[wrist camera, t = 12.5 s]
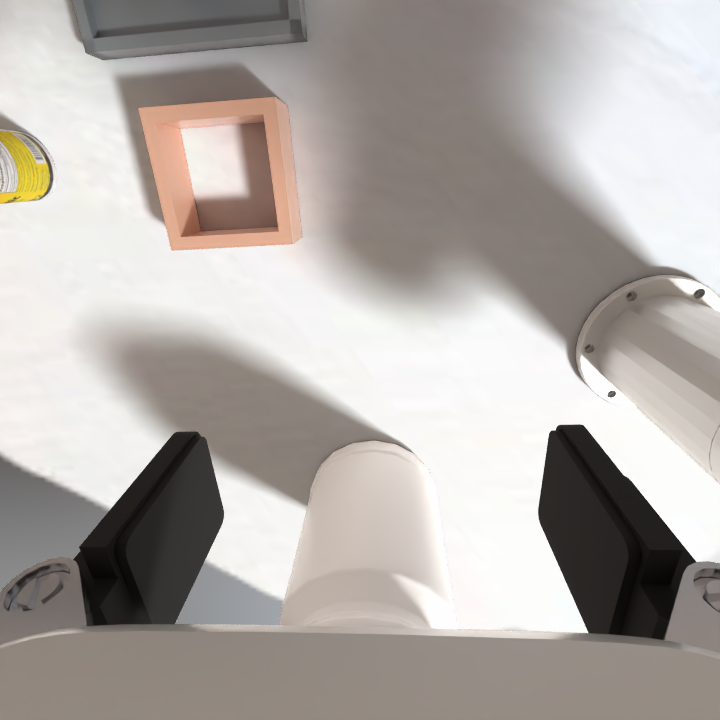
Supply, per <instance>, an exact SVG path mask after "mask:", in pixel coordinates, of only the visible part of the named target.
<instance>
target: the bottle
mask: <svg viewBox="0 0 720 720" xmlns="http://www.w3.org/2000/svg"><path fill="white" fill-rule="evenodd" d="M437 500H438V494H437V491H436V488H435V486H434V483H433V480H432V477H431V475H430V472H429V469H428V468H427V467H426V466H425V465H424V464H423V463H422V462H421V461H420V459H419V458H418V457H417V456H416V455H415V454H413V453H411V452H410V451H408V450H406V449H404V448H402V447H400V446H398V445H396V444H391V443H385V442H380V441H366V442H357V443H352V444H350V445H347V446H345V447H343V448H341V449H339V450H336V451H334V452H333V453H332V454H331V455H330V456H329V457H328V458H327V459H326V460H325V461H324V462H323V463H322V464H321V465H320V467H319V469H318V471H317V474H316V476H315V479H314V481H313V484H312V486H311V489H310V499H309V503H308V507H307V511H306V515H305V519H304V523H303V527H302V531H301V535H300V539H299V543H298V547H297V551H296V555H295V559H294V563H293V568H292V572H291V575H290V579H289V583H288V587H287V591H286V595H285V598H284V602H283V604H282V607H281V613H280V621H281V625H284V626H339V627H389V628H435V629H457V628H458V624H457V615H456V612H455V607H454V601H453V596H452V590H451V584H450V578H449V572H448V566H447V559H446V553H445V546H444V540H443V534H442V528H441V522H440V515H439V509H438V503H437Z"/></svg>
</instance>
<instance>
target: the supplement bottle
mask: <svg viewBox="0 0 720 720" xmlns="http://www.w3.org/2000/svg"><path fill="white" fill-rule="evenodd" d="M56 181H57V172H56V167H55V163H54V161H53V159H52V157H51V155H50V153H49V152H48V150H47V149H46V148H45V147H44V146H43V145H42V144H41V143H40V142H39V141H38V140H37V139H35V138H34V137H32V136H30V135H28V134H26V133H23V132H19V131H12V130H4V129H0V204H2V203H13V202H26V201H36V200H41V199H44V198H46V197H48V196H49V195H50V194H51V193H52V192H53V190H54V188H55V186H56Z"/></svg>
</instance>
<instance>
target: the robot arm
mask: <svg viewBox="0 0 720 720" xmlns="http://www.w3.org/2000/svg"><path fill="white" fill-rule="evenodd" d="M628 293H629V294H628ZM627 294H628V295H627ZM587 345H588V346H587ZM586 346H587V347H586ZM576 362H577V366H578V370H579V373H580V375H581V377H582V378H583V380H584V382H585V383H586V384H587V385H588V386H589V387H590V389H592V390H593V391H594V392H595V393H596V394H597V395H598V396H600V397H601V398H603V399H604V400H606V401H608V402H611V403H614V404H617V405H621V406H628V407H636V408H637V409H639V410H640V411H641V412H642V413H643V414H644V415H645V416H646V417H647V418H648V419H649V420H650V421H652V422H653V423H654V424H655V425H656V426H657V427H658V428H659V429H660V430H661V431H662V432H664V433H665V434H666V435H667V436H668V437H669V438H670V439H671V440H672V441H673V442H674V443H675V444H677V445H678V446H679V447H680V448H681V449H682V450H683V451H684V452H685V453H686V454H687V455H688V456H690V457H691V458H692V459H693V460H694V461H695V462H696V463H697V464H698V465H699V466H700V467H701V468H703V469H704V470H705V471H706V472H707V473H708V474H709V475H710V476H711V477H712V478H713V479H715V480H716V481H717V482H718V483H719V484H720V297H719V296H718V294H716V293H715V292H714V291H713V290H712V289H711V288H709V287H708V286H706V285H704V284H702V283H700V282H698V281H696V280H692V279H689V278H686V277H682V276H675V275H657V276H651V277H647V278H642V279H639V280H637V281H634V282H631V283H629V284H626V285H625V286H623V287H621V288H619V289H618V290H616V291H614V292H613V293H611V294H610V295H609V296H608V297H606V298H605V299H604V300H603V301H601V302H600V304H599V305H598V306H597V307H596V308H595V309H594V310H593V311H592V312H591V314H590V315H589V317H588V318H587V320H586V321H585V323H584V325H583V327H582V329H581V332H580V334H579V337H578V341H577V346H576ZM538 515H539V521H540V524H541V526H542V529H543V531H544V533H545V535H546V538H547V540H548V542H549V544H550V547H551V549H552V551H553V553H554V556H555V558H556V560H557V562H558V565H559V567H560V569H561V571H562V574H563V576H564V578H565V580H566V583H567V585H568V587H569V590H570V592H571V594H572V596H573V599H574V601H575V603H576V605H577V608H578V610H579V612H580V614H581V617H582V619H583V621H584V623H585V626H586V628H587V630H588V632H589V633H568V632H544V631H514V630H474V629H435V628H389V627H339V626H284V625H277V626H276V625H209V624H208V625H207V624H206V625H205V624H175V622H176V620H177V618H178V616H179V614H180V611H181V609H182V607H183V605H184V603H185V601H186V599H187V597H188V594H189V592H190V590H191V588H192V586H193V584H194V582H195V580H196V578H197V576H198V574H199V572H200V569H201V567H202V565H203V563H204V561H205V559H206V557H207V555H208V553H209V551H210V548H211V546H212V544H213V542H214V540H215V538H216V536H217V534H218V532H219V530H220V527H221V525H222V523H223V519H224V510H223V506H222V502H221V498H220V493H219V489H218V485H217V481H216V477H215V473H214V469H213V465H212V461H211V457H210V453H209V449H208V445H207V441H206V439H205V437H201V436H200V434H199V433H198V432H175V433H174V434H173V435H172V436H171V438H170V439H169V440H168V441H167V442H166V444H165V445H164V446H163V447H162V448H161V450H160V451H159V452H158V453H157V454H156V456H155V457H154V458H153V459H152V460H151V462H150V463H149V464H148V465H147V466H146V468H145V469H144V470H143V471H142V472H141V474H140V475H139V476H138V477H137V478H136V480H135V481H134V482H133V483H132V484H131V486H130V487H129V488H128V489H127V490H126V492H125V493H124V494H123V495H122V496H121V498H120V499H119V500H118V501H117V502H116V504H115V505H114V506H113V507H112V508H111V510H110V511H109V512H108V513H107V514H106V516H105V517H104V518H103V519H102V520H101V522H100V523H99V524H98V525H97V526H96V528H95V529H94V530H93V531H92V532H91V534H90V535H89V536H88V537H87V539H86V540H85V541H84V542H83V543H82V544H81V546H80V547H79V548H80V550H81V551H80V552H79V553H78V555H77V556H76V557H75V558H74V559H71V558H64V557H59V558H53V559H48V560H46V561H43V562H41V563H37V564H36V565H34V566H32V567H30V568H28V569H26V570H25V571H23V572H22V573H21V574H19V575H18V576H16V577H15V578H13V579H12V580H11V581H10V582H9V583H8V584H7V585H6V586H5V587H4V588H3V589H2V591H1V592H0V720H720V563H714V562H708V561H707V562H696V561H695V560H694V559H693V557H692V556H691V555H690V554H689V552H688V551H687V550H686V549H685V547H684V546H683V545H682V544H681V542H680V541H679V540H678V539H677V537H676V536H675V535H674V534H673V533H672V531H671V530H670V529H669V528H668V526H667V525H666V524H665V523H664V521H663V520H662V519H661V518H660V516H659V515H658V514H657V513H656V511H655V510H654V509H653V508H652V506H651V505H650V504H649V503H648V501H647V500H646V499H645V498H644V496H643V495H642V494H641V493H640V491H639V490H638V489H637V488H636V487H635V485H634V484H633V483H632V482H631V481H630V480H629V479H628V478H627V477H625V476H623V474H622V473H621V472H620V470H619V469H618V468H617V467H616V465H615V464H614V463H613V462H612V460H611V459H610V458H609V457H608V455H607V454H606V453H605V452H604V450H603V449H602V448H601V447H600V445H599V444H598V443H597V442H596V440H595V439H594V438H593V436H592V435H591V434H590V433H589V431H588V430H587V429H586V428H585V427H584V426H583V425H559V426H557V428H556V431H551V432H550V433H549V439H548V446H547V453H546V460H545V467H544V474H543V481H542V488H541V494H540V501H539V508H538Z"/></svg>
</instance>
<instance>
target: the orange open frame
mask: <svg viewBox="0 0 720 720" xmlns="http://www.w3.org/2000/svg"><path fill="white" fill-rule="evenodd" d="M138 110H139V114H140V118H141V122H142V127H143V131H144V135H145V139H146V144H147V148H148V152H149V157H150V161H151V165H152V169H153V174H154V178H155V182H156V186H157V191H158V195H159V199H160V203H161V208H162V212H163V216H164V220H165V225H166V229H167V233H168V237H169V242H170V246H171V250H191V249H210V248H228V247H247V246H266V245H284V244H294V243H295V242H297V241H298V240H299V239H301V238H302V230H301V221H300V212H299V203H298V194H297V185H296V176H295V167H294V158H293V149H292V140H291V131H290V122H289V113H288V106H287V105H286V104H285V103H283V102H282V101H280V100H279V99H278V98H276V97H265V98H253V99H241V100H229V101H216V102H204V103H192V104H180V105H168V106H155V107H143V108H138ZM261 122H264V123H265V131H266V139H267V146H268V154H269V161H270V169H271V176H272V184H273V192H274V199H275V207H276V214H277V222H278V227H267V228H249V229H232V230H214V231H201V229H200V224H199V219H198V214H197V209H196V204H195V199H194V194H193V189H192V184H191V179H190V175H189V170H188V165H187V160H186V155H185V150H184V145H183V140H182V135H181V130H180V129H184V128H197V127H210V126H223V125H236V124H248V123H261Z"/></svg>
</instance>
